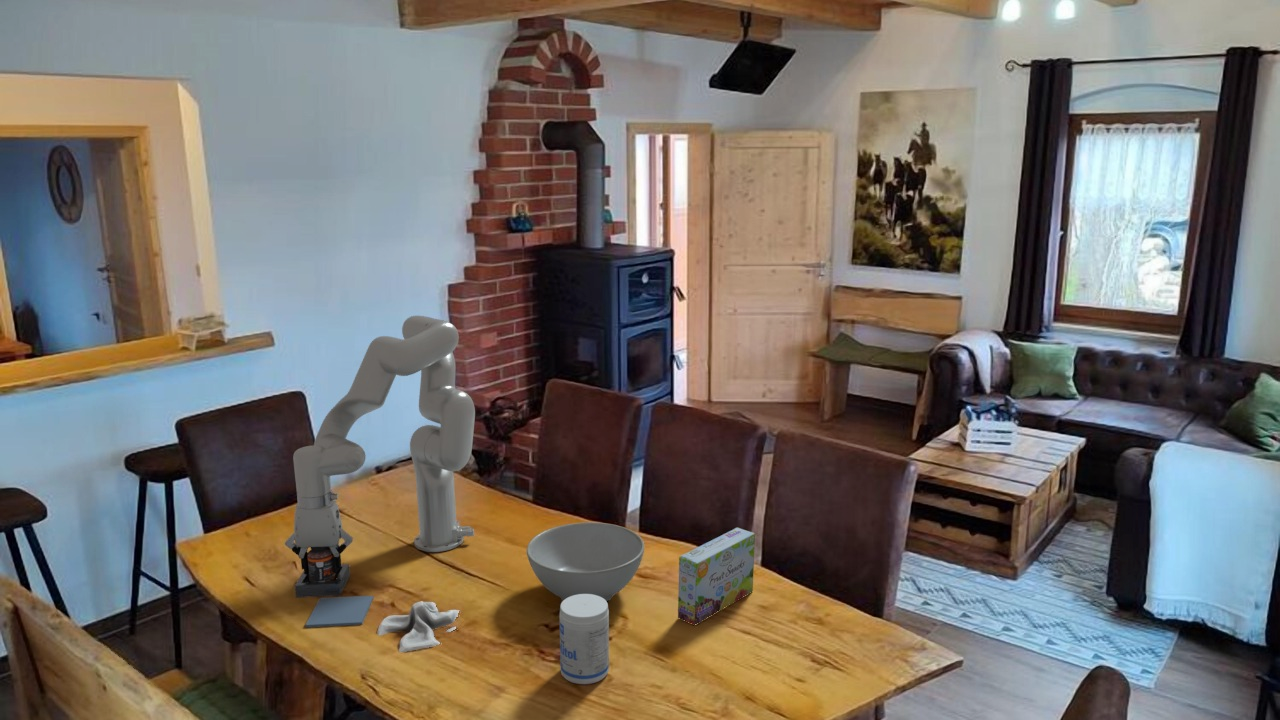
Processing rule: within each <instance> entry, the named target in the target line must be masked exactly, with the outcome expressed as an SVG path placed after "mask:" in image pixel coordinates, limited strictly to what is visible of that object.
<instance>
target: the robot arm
mask: <svg viewBox="0 0 1280 720" xmlns="http://www.w3.org/2000/svg"><path fill="white" fill-rule="evenodd" d="M401 334H402V337H403V339H402V338H398V337H393V336H388V335H383V336H377V337H375V338H374V339H373V340H372V341H371V342H370V343H369V345H368V348H367V349H366V351H365V354H364V356H363V358H362V361H361V364H360V366H359V368H358V370H357V373H356V375H355V377H354V379H353V382H352V384H351V387H350V388H349V389H348V390H349V391H347V393H346V394H345V395H344V396H343V397H342V398H341V399H340V400H339V401H338V402H337V403H336V404H335V405H334V406H333V407H332V408H331V409H330V411H329V412H328V413H327V414H326V416H325V417H324V419H323V421H322V423H321V424H320V427H319V430H318V432H317V434H316V436H315V439H314V443H313V445H307V446H302V447H300V448H298V449H296V450H295V451H294V453H293V455H292V456H293V458H292V460H293V469H294V477H295V478H294V480H295V488H296V496H297V497H296V498H297V504H296V505H295V508H294V509H295V510H294V517H293V518H294V521H293V522H294V523H293V530H294V532H293V533H292V534H291V535H290V536H289V537H288V538H287V540H286V541H285V542H284V545H285V546H286V547H287V548H288V549H290V550H291V552H293V553H295V555H296V556H298V558H299V559H300V563H301V564H300V565H301V570H303V571H304V574H308V573H309V569H308V559H307V554H308V552H309V548H311V547H330V549H331V551H332V553H333V557H332V565H333V572H334V573H337V571H338V569H339V568H340V567H341V565H342V557H341V554H342V553H343V552H344V551H345V550H346V549H347V548H348V547H349V546H350V545H351V544H352V543H353V540H354V538H353V537H352V536H351V535H350V534H349V533H348V532H346V531H345V530H344V529H343V523H342V518H341V513H340V509H339V505H338V504H337V501H336V500H338V499H339V493H335V492H333V489H332V482H331V477H333V476H339V475H349V474H353V473H355V472H357V471H359V470H360V469H361V468H362V467H363V466H364V464H365V462H366V459H367V458H366V456H367V455H366V452H365V450H364V448H363V447H362V446H361V445H360V444H358V443H357V442H354V441H353V440H349V439H347V436H348V434H349V432H350V430H351V429H352V427H353V425H354V424H355V423H356V422H357V421H358V420H359V419H360V418H361V417H363V416H364V415H366V414H368V413H371V412H374V411H376V410H378V409H380V408H381V407H382V408H383V405H384V404H385V402H386V399H387V397H388V394H389V393H390V390H391V388H392V385H393V383H394V381H395V379H396V376H400V377H408V376H411V375H414V374H416V373H418V372H421V373H420V383H419V385H420V386H419V396H418V398H419V399H418V410H419V413H420V415H421V416H422V417H423V418H424V419H427V420H428V421H431V422H433V423H436V424H439V425H440V426H438V425H433V424H431V425H430V424H425V425H422V426H420V427H418V428H417V429H416V430H415V431H414V432H413V433H412V435H411V438H410V441H409V451H410V456H411V459H412V463H413V468H414V473H415V475H414V476H415V482H416V484H415V486H416V496H417V497H416V499H417V510H418V511H417V513H418V527H419V534H417V536H416V537H415V538H414V541H413V544H414V547H415V548H416V549H417V550H420V551H422V552H427V553H439V552H440V553H441V552H445V551H449V550H450V551H451V550H452V549H455V548H457V547H459V546H460V545H462V544H463V542H464V537H475V529H474V528H471V525H470V526H469V525H467V526H462V525H460V521H459V520H457V511H456V510H457V509H456V496H455V495H456V494H455V492H456V491H455V477H454V472H457V471H460V470H462V469H463V468H464V467H465V466H466V465H468V462H469V460H470V458H471V455H472V449H473V441H474V432H475V431H474V430H475V420H476V419H475V418H476V409H475V404H474V401H473V399H472V396H470V395H469V394H468V393H467V392H466V391H463V390H461V389H458V388H456V370H457V369H456V359H455V355H454V351H455V350H456V348H457V347H458V344H459V341H460V340H459V339H460V337H459V331H458V329H457V328H456V326H455V325H454V324H452V323H451V322H449V321H447V320H444V319H438V318H433V317H430V316H424V315H413V316H409V317H408V318H407V319H405V321H404V322H403V324H402V328H401ZM340 539H342V540H343V542H342V543H341V544H340Z"/></svg>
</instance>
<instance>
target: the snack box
mask: <svg viewBox="0 0 1280 720" xmlns="http://www.w3.org/2000/svg"><path fill="white" fill-rule="evenodd" d="M755 540H756V533H755V532H752V531H749V530H746V529H743V528H740V527H735V528H733V529H732V530H729V531H727V532H726V533H723V534H722V535H720V536H718V537H715V538H713V539H712V540H710V541H708V542H705V543H703V544H702V545H699V546H698V547H696V548H693V549H692V550H689V551H688V552H685V553H684V554H681V555H680V556H678V591H677V593H678V594H677V595H678V596H677V597H678V598H677V599H678V600H677V602H678V603H677V619H679V618H680V619H679V620H681V619H682V621H683V620H685V621H684V622H686V621H687V622H686V623H688V622H689V623H692V624H694V625H695V624H697V623H699V622H701V621H702V620H704V619H706V618H707V617H709V616H711V615H713V614H714V613H716V612H717V611H719V610H721V609H723V608H724V607H726V606H728V605H729V604H731V605H733V604H734V603H733V602H735V601H737V600H738V599H740V598H742V597H743V596H745V595H747V594H748V595H750V594H751V593H750V592H752V591H754V571H755V570H754V565H755V545H756V544H755V543H756V541H755ZM749 593H750V594H749ZM752 593H753V592H752ZM748 595H747V596H748ZM745 597H746V596H745ZM743 598H744V597H743ZM743 598H742V599H743ZM740 600H741V599H740ZM738 601H739V600H738ZM738 601H737V602H738ZM732 603H733V604H732ZM735 603H736V602H735ZM728 607H729V606H728ZM726 608H727V607H726ZM723 610H724V609H723ZM721 611H722V610H721ZM719 612H720V611H719ZM716 614H717V613H716ZM714 615H715V614H714ZM714 615H713V616H714ZM711 617H712V616H711ZM709 618H710V617H709ZM706 620H707V619H706ZM704 621H705V620H704ZM702 622H703V621H702ZM702 622H701V623H702ZM689 623H688V624H689ZM699 624H700V623H699Z"/></svg>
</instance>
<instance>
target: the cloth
mask: <svg viewBox="0 0 1280 720" xmlns="http://www.w3.org/2000/svg"><path fill="white" fill-rule="evenodd" d="M436 605H437V604H436V603H435V602H433V601H423V600H421V601H417V602H414V603H413V604H412V606H411V608H410V611H409V613H408V614H405V615H404V614H403V615H397V614H396V615H388V616H385V618H384V619H382V621H381V622H380V624H379V626H378V629H377V632H376V634H377V635H378V636H383V635H386V634H389V632H390V633H398V632H399V631H404V632H408V633H406V634H404V635H403V636H402V637H401V639H400V640H399V642H398V644H399V649H398V651H400V652H406V653H408V652H407V651H410V652H413V651H412V650H416V651H418V650H417V649H422V648H427V649H430V648H429V647H433V646H436V645H439V644H440V641H439V640H437V639H436V636H435V633H434V630H432V629H435V628H438V627H442V626H446V625H449V624H451V623H453V622H454V621H455V619H456V617H458V613H459V611H460V610H458V609H449V610H446V611H439V609H438V608H437V607H438V606H437V607H436ZM455 622H456V621H455ZM455 629H456V626H453V627H450V629H449V628H448V630H447V629H446V630H447V631H446V632H451V631H453V630H455ZM410 630H411V631H410ZM397 631H398V632H397ZM455 631H456V630H455ZM453 632H454V631H453ZM399 633H400V632H399ZM434 636H435V637H434ZM422 650H423V649H422Z"/></svg>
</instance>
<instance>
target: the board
mask: <svg viewBox="0 0 1280 720" xmlns="http://www.w3.org/2000/svg"><path fill="white" fill-rule="evenodd" d="M373 600H374V595H360V596H359V595H357V596H356V595H354V596H338V597H335V596H332V597H320V598H319V600H318V601H317V603H316V605H315V606H314V609H313V610H312V612H311V614H310V615H309V617H308V619H307V620H306V621H307V622H306V623H305V624H304V626H305V628H319V627H320V628H321V627H323V628H324V627H341V626H343V627H344V626H345V627H346V626H361V625H363V623H364V621H365V619H366V617H367V615H368V612H369V610H370V607H371V606H372V603H373Z"/></svg>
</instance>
